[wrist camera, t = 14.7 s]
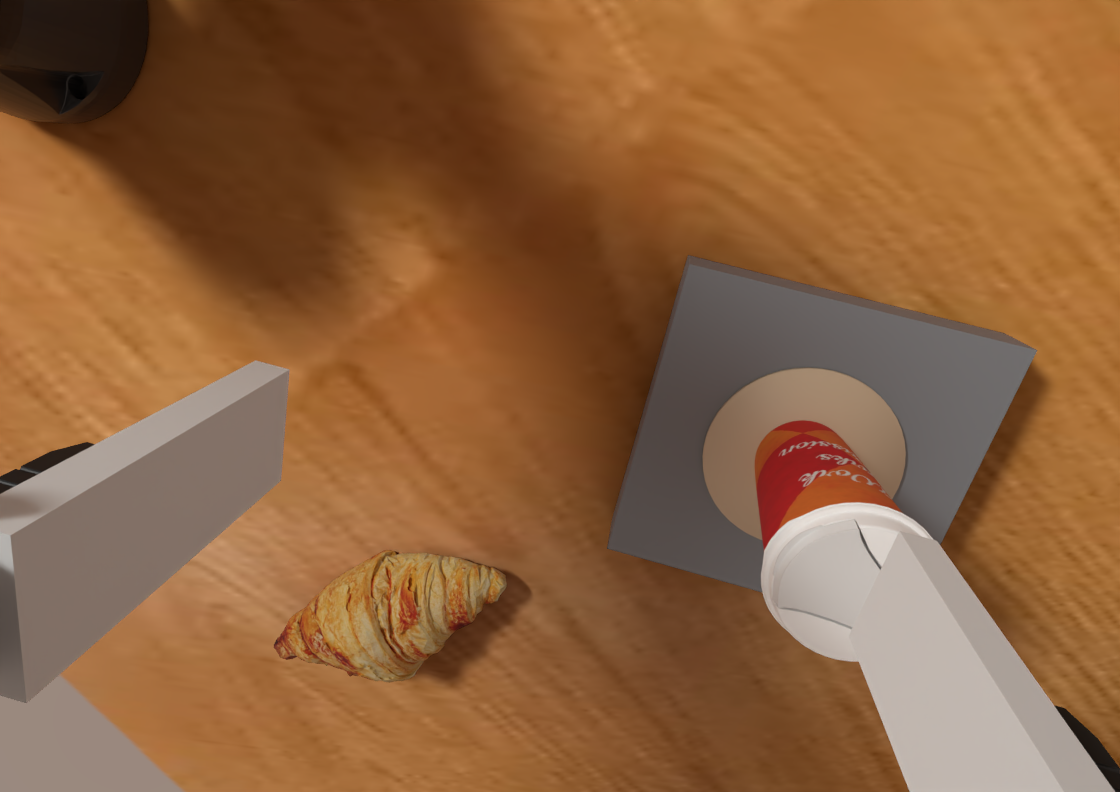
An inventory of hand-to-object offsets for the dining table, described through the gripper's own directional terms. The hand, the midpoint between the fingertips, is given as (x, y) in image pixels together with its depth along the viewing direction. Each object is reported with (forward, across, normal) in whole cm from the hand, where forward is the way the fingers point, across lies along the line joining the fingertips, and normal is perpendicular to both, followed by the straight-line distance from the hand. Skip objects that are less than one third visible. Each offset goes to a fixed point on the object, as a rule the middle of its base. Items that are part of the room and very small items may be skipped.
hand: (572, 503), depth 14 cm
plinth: (+31, +13, -8) cm, 35 cm away
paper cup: (+27, +13, -8) cm, 31 cm away
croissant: (+32, -12, -32) cm, 46 cm away
